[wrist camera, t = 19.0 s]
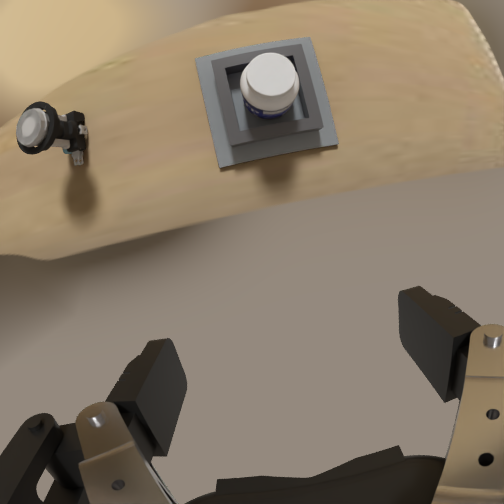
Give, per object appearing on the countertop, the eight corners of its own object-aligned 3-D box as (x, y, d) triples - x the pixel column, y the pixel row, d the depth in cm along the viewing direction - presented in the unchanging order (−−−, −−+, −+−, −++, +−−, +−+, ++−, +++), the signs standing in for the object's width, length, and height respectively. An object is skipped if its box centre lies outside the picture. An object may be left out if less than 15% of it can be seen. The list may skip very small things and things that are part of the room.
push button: (100, 158, 33) (52, 157, 23) (66, 171, 33) (14, 174, 24) (93, 107, 32) (46, 91, 22) (59, 121, 32) (9, 112, 22)
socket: (220, 167, 33) (216, 167, 30) (195, 60, 30) (190, 50, 27) (337, 144, 32) (344, 141, 30) (309, 38, 29) (313, 28, 27)
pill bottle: (235, 85, 31) (227, 57, 22) (280, 68, 30) (288, 37, 21) (254, 128, 32) (253, 112, 23) (300, 111, 31) (314, 91, 23)
